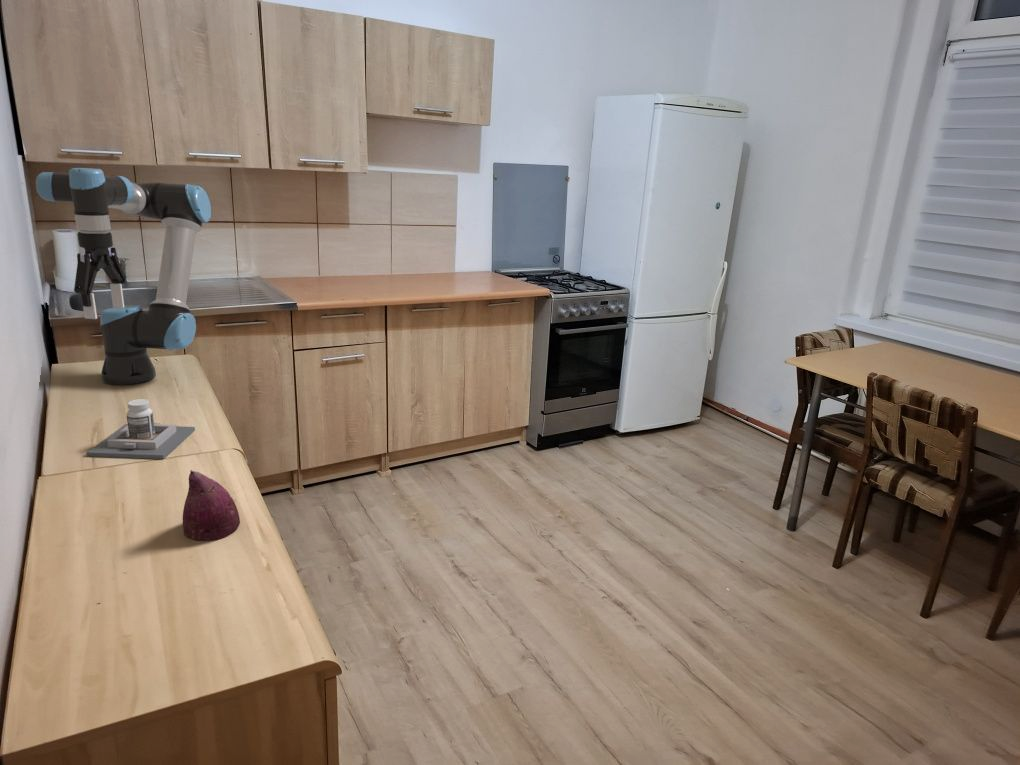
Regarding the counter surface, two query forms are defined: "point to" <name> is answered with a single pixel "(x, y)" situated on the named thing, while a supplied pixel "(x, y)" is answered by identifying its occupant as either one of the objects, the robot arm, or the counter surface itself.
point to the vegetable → (208, 510)
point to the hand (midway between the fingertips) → (105, 312)
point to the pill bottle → (140, 420)
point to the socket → (142, 443)
